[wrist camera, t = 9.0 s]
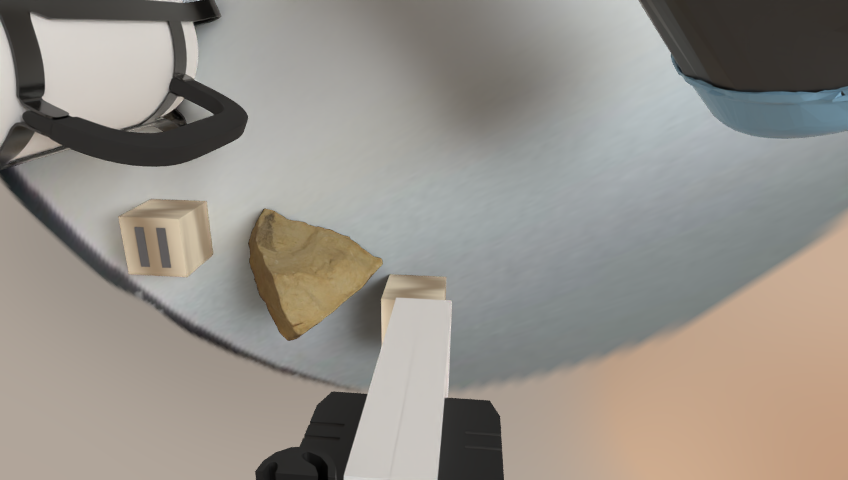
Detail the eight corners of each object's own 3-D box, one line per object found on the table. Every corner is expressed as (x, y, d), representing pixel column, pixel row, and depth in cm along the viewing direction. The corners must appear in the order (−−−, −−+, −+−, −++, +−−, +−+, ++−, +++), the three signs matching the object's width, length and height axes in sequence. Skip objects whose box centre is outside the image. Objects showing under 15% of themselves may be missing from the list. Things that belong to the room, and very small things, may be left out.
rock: (210, 240, 49) (274, 338, 50) (216, 228, 41) (291, 345, 42) (318, 179, 53) (374, 271, 54) (342, 158, 45) (407, 267, 46)
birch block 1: (206, 200, 50) (178, 219, 45) (213, 254, 52) (186, 277, 47) (151, 198, 50) (117, 217, 45) (160, 251, 52) (128, 274, 47)
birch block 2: (446, 276, 50) (443, 302, 46) (444, 326, 52) (441, 357, 47) (389, 274, 51) (380, 299, 46) (390, 324, 53) (381, 353, 48)
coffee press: (104, 166, 49) (-381, 349, 21) (14, -31, 44) (-775, -129, 16) (290, 115, 47) (10, 249, 19) (216, -102, 42) (-321, -367, 14)
